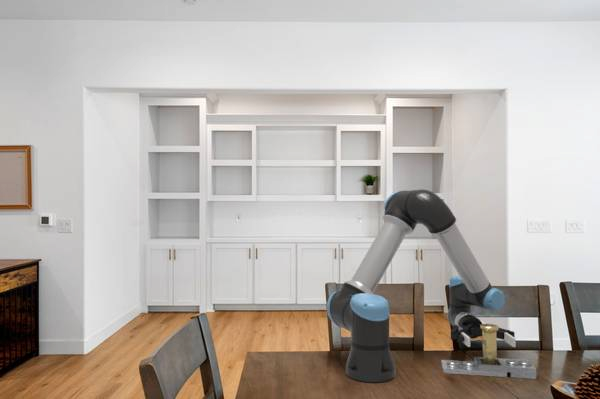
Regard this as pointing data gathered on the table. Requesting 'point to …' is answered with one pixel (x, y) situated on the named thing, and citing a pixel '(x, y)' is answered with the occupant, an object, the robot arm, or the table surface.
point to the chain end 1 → (467, 368)
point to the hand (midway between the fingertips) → (491, 342)
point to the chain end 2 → (509, 367)
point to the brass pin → (489, 343)
